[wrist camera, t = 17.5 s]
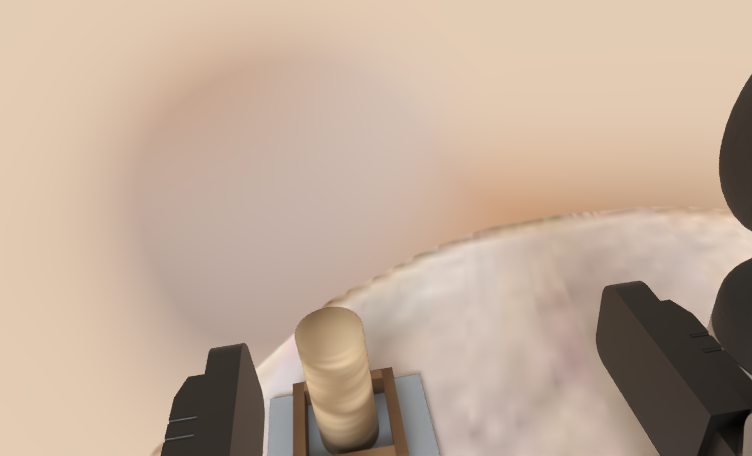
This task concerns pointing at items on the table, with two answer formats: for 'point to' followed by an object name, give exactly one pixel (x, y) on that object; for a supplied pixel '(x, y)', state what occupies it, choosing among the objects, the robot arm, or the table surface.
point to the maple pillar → (338, 379)
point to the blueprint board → (412, 413)
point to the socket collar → (381, 384)
